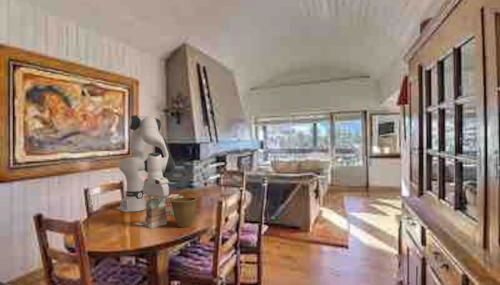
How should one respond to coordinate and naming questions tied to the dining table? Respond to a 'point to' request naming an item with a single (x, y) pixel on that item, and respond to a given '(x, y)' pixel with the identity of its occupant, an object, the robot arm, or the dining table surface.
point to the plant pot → (184, 210)
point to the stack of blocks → (168, 203)
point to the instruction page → (140, 223)
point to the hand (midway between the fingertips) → (155, 202)
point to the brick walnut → (155, 212)
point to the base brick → (155, 221)
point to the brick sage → (154, 203)
